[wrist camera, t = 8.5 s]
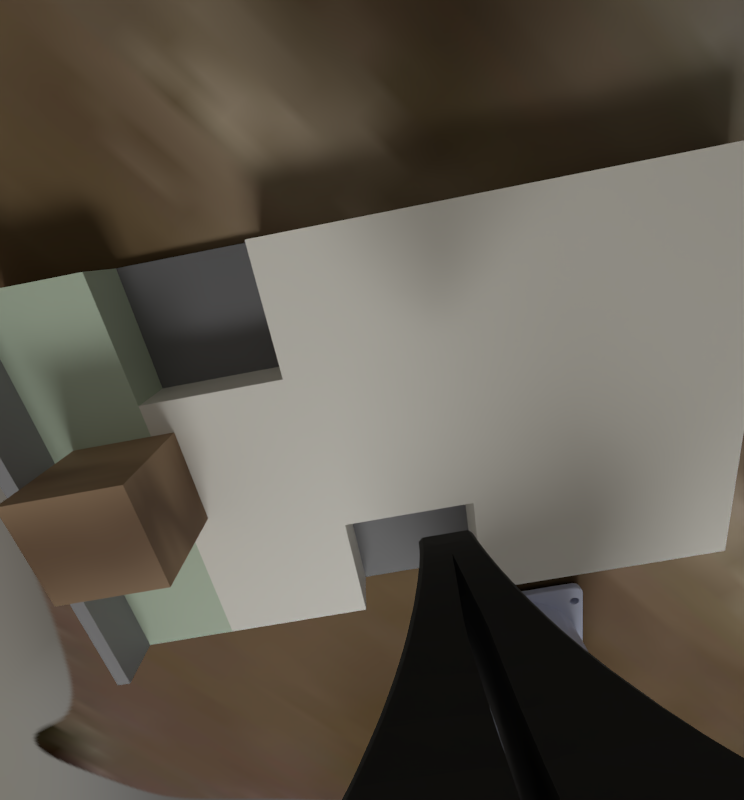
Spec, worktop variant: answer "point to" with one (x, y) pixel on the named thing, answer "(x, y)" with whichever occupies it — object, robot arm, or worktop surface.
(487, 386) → the trap deck
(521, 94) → the worktop surface
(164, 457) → the walnut block
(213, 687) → the worktop surface
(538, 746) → the robot arm
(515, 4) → the worktop surface
